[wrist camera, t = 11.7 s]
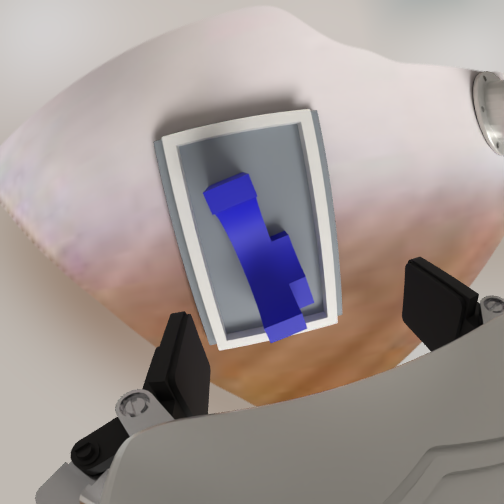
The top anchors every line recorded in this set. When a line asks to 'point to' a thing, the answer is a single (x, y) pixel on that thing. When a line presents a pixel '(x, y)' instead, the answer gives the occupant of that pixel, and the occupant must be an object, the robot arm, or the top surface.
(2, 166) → the top surface
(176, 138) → the shallow rectangular tray
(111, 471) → the robot arm
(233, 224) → the blue long irregular block
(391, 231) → the top surface
